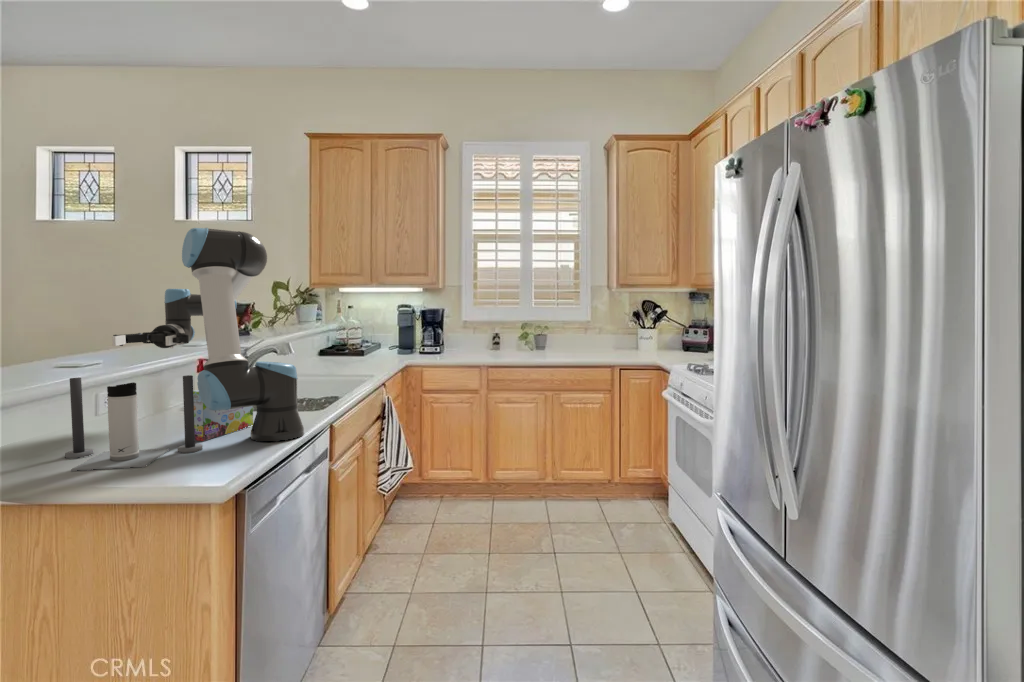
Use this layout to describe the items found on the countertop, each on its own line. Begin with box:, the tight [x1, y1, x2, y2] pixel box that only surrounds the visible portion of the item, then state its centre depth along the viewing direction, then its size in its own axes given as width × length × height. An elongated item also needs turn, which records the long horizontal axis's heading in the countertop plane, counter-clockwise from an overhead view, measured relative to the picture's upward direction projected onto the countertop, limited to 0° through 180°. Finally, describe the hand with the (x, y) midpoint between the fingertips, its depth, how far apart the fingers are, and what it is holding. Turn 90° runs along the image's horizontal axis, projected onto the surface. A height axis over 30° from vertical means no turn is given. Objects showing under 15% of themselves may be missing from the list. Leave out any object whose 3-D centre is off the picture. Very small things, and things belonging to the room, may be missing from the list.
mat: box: [70, 448, 170, 472], centre depth 141 cm, size 16×16×1 cm
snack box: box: [193, 389, 254, 442], centre depth 170 cm, size 21×6×15 cm, turn 167°
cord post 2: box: [177, 374, 204, 454], centre depth 150 cm, size 6×6×21 cm
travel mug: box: [106, 382, 140, 461], centre depth 140 cm, size 6×7×20 cm
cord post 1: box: [64, 377, 94, 459], centre depth 144 cm, size 6×6×21 cm
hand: (140, 341), depth 157 cm, fingers open, 13 cm apart
